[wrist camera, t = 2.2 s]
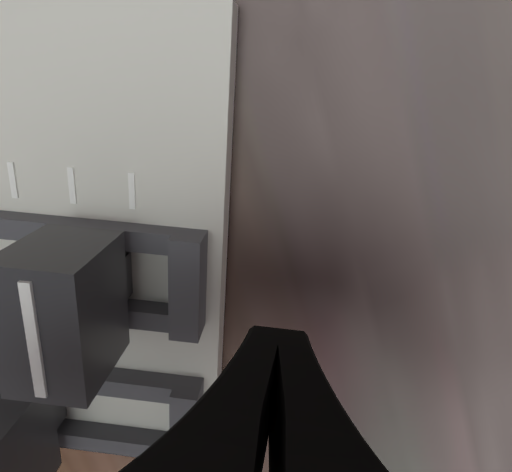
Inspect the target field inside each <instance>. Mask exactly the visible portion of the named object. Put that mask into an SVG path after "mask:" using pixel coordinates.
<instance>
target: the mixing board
mask: <svg viewBox="0 0 512 472" xmlns="http://www.w3.org/2000/svg"><path fill="white" fill-rule="evenodd" d="M238 9H239V6H238V5H237V4H236V2H235V1H234V0H0V250H2V249H3V248H5V247H7V246H9V245H10V244H12V243H14V242H16V241H18V240H19V239H21V238H23V237H25V236H26V235H28V234H30V233H32V232H33V231H35V230H37V229H39V228H40V227H42V226H44V225H46V224H57V225H67V226H77V227H88V228H98V229H108V230H118V231H124V238H125V252H131V262H132V284H133V294H132V295H131V296H130V297H129V299H128V318H129V338H130V343H129V345H128V346H127V348H126V349H125V351H124V353H123V354H122V356H121V357H120V359H119V360H118V362H117V364H116V365H115V367H114V368H113V370H112V371H111V373H110V375H109V376H108V378H107V379H106V381H105V382H104V384H103V386H102V387H101V389H100V390H99V392H98V393H97V395H96V396H95V398H94V400H93V401H92V403H91V404H90V406H89V407H88V409H81V408H73V407H66V410H67V416H66V417H65V419H64V420H63V422H62V423H61V425H60V426H59V427H58V429H57V433H58V441H59V447H61V448H69V449H76V450H84V451H92V452H99V453H107V454H115V455H122V456H130V457H138V456H139V455H140V454H142V453H143V452H144V451H145V450H146V449H147V448H149V447H150V446H151V445H152V444H153V443H154V442H156V441H157V440H158V439H159V438H160V437H161V436H163V435H164V434H165V433H166V432H167V431H168V430H169V429H170V428H171V427H172V426H173V425H174V424H175V423H177V422H178V421H179V420H180V419H181V418H182V417H183V416H184V415H185V414H186V413H187V412H188V411H189V410H190V409H191V407H192V406H193V405H194V404H195V403H196V402H197V401H198V400H199V399H200V398H201V397H202V395H203V394H204V393H205V392H206V391H207V390H208V388H209V387H210V386H211V385H212V384H213V383H214V382H215V380H216V379H217V378H218V377H219V375H220V374H221V373H222V354H223V332H224V311H225V289H226V267H227V246H228V224H229V203H230V181H231V160H232V138H233V117H234V95H235V74H236V52H237V30H238Z"/></svg>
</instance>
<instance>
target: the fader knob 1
mask: <svg viewBox="0 0 512 472" xmlns="http://www.w3.org/2000/svg"><path fill="white" fill-rule="evenodd" d="M132 294H133V284H132V262H131V252H125V238H124V231H118V230H108V229H98V228H88V227H77V226H67V225H57V224H46V225H44V226H42V227H40V228H39V229H37V230H35V231H33V232H32V233H30V234H28V235H26V236H25V237H23V238H21V239H19V240H18V241H16V242H14V243H12V244H10V245H9V246H7V247H5V248H3V249H2V250H0V394H1V399H9V400H17V401H25V402H33V403H41V404H49V405H57V406H65V407H73V408H81V409H88V407H89V406H90V404H91V403H92V401H93V400H94V398H95V396H96V395H97V393H98V392H99V390H100V389H101V387H102V386H103V384H104V382H105V381H106V379H107V378H108V376H109V375H110V373H111V371H112V370H113V368H114V367H115V365H116V364H117V362H118V360H119V359H120V357H121V356H122V354H123V353H124V351H125V349H126V348H127V346H128V345H129V343H130V338H129V318H128V299H129V297H130V296H131V295H132Z"/></svg>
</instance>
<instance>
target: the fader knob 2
mask: <svg viewBox="0 0 512 472" xmlns="http://www.w3.org/2000/svg"><path fill="white" fill-rule="evenodd" d="M66 416H67V410H66V407H65V406H57V405H49V404H41V403H33V402H25V401H17V400H9V399H1V394H0V472H56V471H57V469H58V468H59V466H60V465H61V463H62V462H61V455H60V448H59V441H58V433H57V429H58V427H59V426H60V425H61V423H62V422H63V420H64V419H65V417H66Z"/></svg>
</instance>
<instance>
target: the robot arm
mask: <svg viewBox="0 0 512 472" xmlns="http://www.w3.org/2000/svg"><path fill="white" fill-rule="evenodd" d="M268 435H269V472H389V471H388V470H387V469H386V468H385V466H384V465H383V464H382V463H381V461H380V460H379V459H378V457H377V456H376V455H375V453H374V452H373V451H372V449H371V448H370V447H369V445H368V444H367V443H366V441H365V440H364V439H363V437H362V436H361V434H360V433H359V431H358V430H357V428H356V427H355V425H354V424H353V422H352V421H351V419H350V418H349V416H348V415H347V413H346V411H345V410H344V408H343V407H342V405H341V403H340V402H339V400H338V398H337V397H336V395H335V393H334V391H333V390H332V388H331V386H330V384H329V382H328V380H327V379H326V377H325V375H324V373H323V371H322V369H321V367H320V365H319V363H318V361H317V358H316V356H315V354H314V352H313V349H312V347H311V344H310V341H309V338H308V336H307V334H306V333H305V332H304V331H297V330H288V329H279V328H270V327H261V326H253V327H252V328H250V329H249V331H248V334H247V335H246V337H245V339H244V341H243V343H242V344H241V346H240V348H239V349H238V351H237V352H236V354H235V355H234V357H233V358H232V359H231V361H230V362H229V363H228V365H227V366H226V367H225V369H224V370H223V371H222V373H221V374H220V375H219V377H218V378H217V379H216V380H215V382H214V383H213V384H212V385H211V386H210V387H209V388H208V390H207V391H206V392H205V393H204V394H203V395H202V397H201V398H200V399H199V400H198V401H197V402H196V403H195V404H194V405H193V406H192V407H191V409H190V410H189V411H188V412H187V413H186V414H185V415H184V416H183V417H182V418H181V419H180V420H179V421H178V422H177V423H175V424H174V425H173V426H172V427H171V428H170V429H169V430H168V431H167V432H166V433H165V434H164V435H163V436H161V437H160V438H159V439H158V440H157V441H156V442H154V443H153V444H152V445H151V446H150V447H149V448H147V449H146V450H145V451H144V452H143V453H142V454H140V455H139V456H138V457H137V458H135V459H134V460H133V461H132V462H130V463H129V464H128V465H127V466H125V467H124V468H123V469H121V470H120V471H119V472H262V468H263V463H264V457H265V452H266V446H267V441H268Z"/></svg>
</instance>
